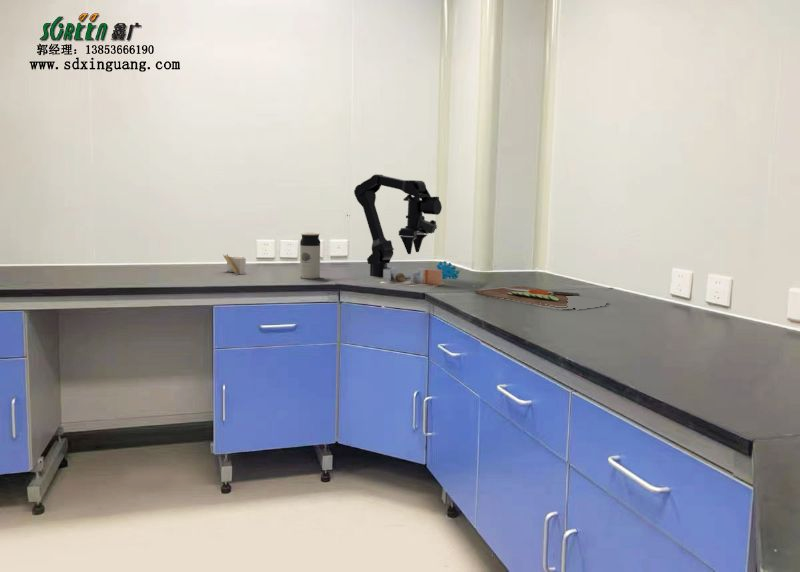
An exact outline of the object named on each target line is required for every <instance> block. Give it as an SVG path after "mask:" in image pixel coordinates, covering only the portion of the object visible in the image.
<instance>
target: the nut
mask: <svg viewBox="0 0 800 572" xmlns="http://www.w3.org/2000/svg"><path fill="white" fill-rule="evenodd" d="M405 277H406V275H405V274H404V273H403V272H399V273H398V274H397V275H396V277H395V278H396V281H398V282H403V281H404V279H406V278H405Z"/></svg>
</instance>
